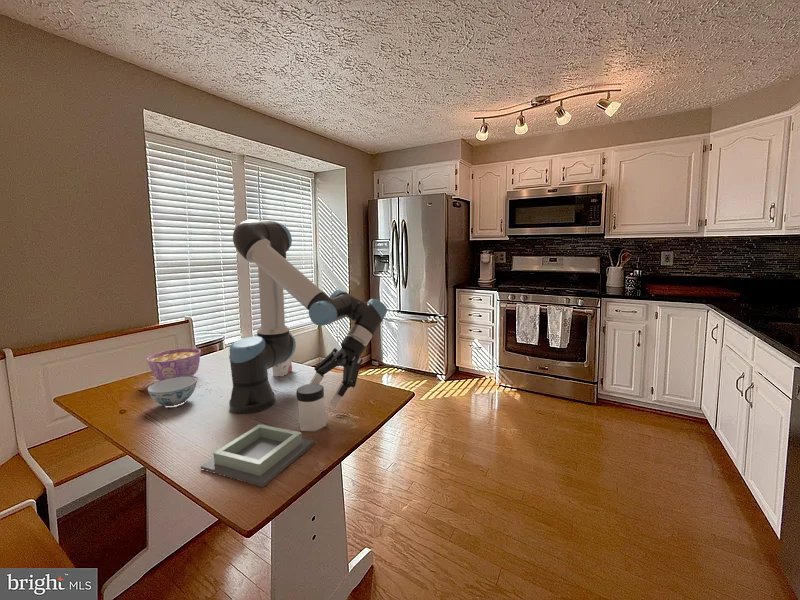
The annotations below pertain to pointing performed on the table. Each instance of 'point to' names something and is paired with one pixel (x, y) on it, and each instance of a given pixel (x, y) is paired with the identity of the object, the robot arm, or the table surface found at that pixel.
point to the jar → (311, 407)
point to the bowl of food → (174, 363)
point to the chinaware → (172, 390)
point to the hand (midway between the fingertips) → (319, 398)
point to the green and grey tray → (258, 454)
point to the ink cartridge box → (282, 368)
